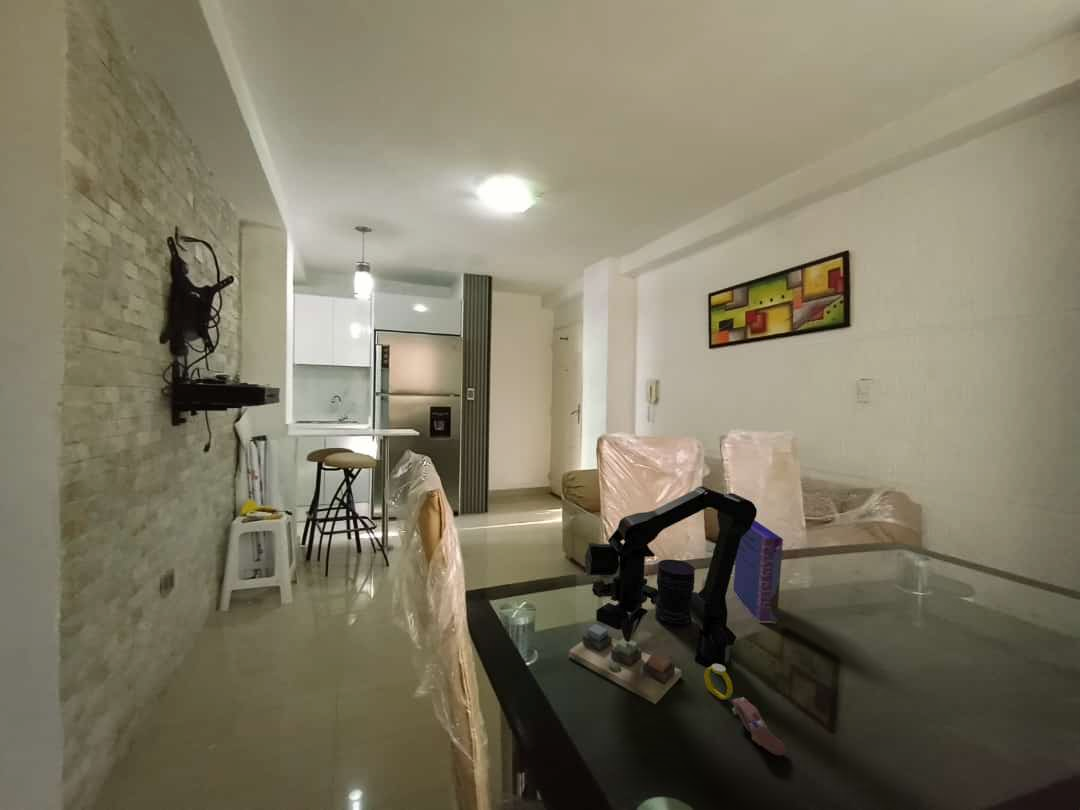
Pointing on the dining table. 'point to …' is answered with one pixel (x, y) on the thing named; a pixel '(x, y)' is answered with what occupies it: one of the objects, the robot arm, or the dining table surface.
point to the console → (625, 667)
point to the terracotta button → (659, 662)
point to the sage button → (626, 647)
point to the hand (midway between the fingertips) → (627, 640)
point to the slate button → (597, 632)
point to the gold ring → (722, 671)
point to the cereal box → (759, 572)
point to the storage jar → (674, 593)
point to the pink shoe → (757, 726)
